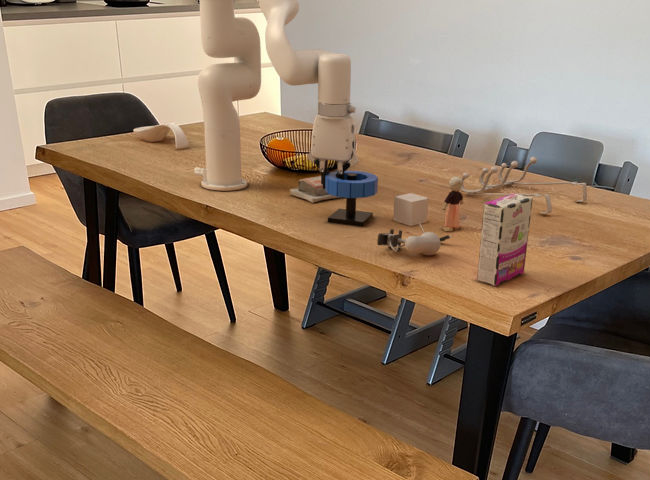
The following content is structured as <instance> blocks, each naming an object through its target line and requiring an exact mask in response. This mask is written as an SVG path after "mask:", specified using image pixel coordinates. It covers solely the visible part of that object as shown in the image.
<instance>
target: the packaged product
mask: <svg viewBox="0 0 650 480" xmlns="http://www.w3.org/2000/svg"><path fill="white" fill-rule="evenodd" d="M297 184H298V186H297V187H295V188H290V189H289V193H290V196H294V197H297V198H300V199H303V200H306V201H308V202H309V203H317V202H322V201H327V200H332V199H338V198H341V199H342V198H343V197H338V196H333V195H330V194H328V193H327V192H326V191H325V189H323V184H321V175H318V176H312V177H306V178H305V177H304V178H301V179H299V180H298V182H297Z"/></svg>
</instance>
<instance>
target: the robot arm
mask: <svg viewBox="0 0 650 480" xmlns="http://www.w3.org/2000/svg"><path fill="white" fill-rule="evenodd" d="M255 1H256V3H257V5H258V6H259V8H260V10H261V12H262V14H263V17H264V18H265V21H266V28H265V31H264V32H265V33H264V38H265V39H264V41H265V42H264V43H265V49H266V54H267V56H268V59H269V61H270V62H271V64H272V66H273V69H274V70H275V72H276V73H277V75H278V76H279V78H280V79H281V80H282V82H284V83H285V84H287V85H289V86H304V85H315V84H317V114H316V115H315V116H314V120H313V126H312V134H311V145H310V146H311V147H310V149H309V150H310V151H309V152H308V154H307V157H306V158H307V160H308V161H310V162H311V163H313V164H314V165H315V166H316V167H317V168H318V170H319V172H320V176H321V184H323V189H325V176H326V175H327V174H329V173H331V172H330V169H329V161H337V174H336V177H337V178H338V179H342V180H344V172H345V171H348V169H350V168H351V167H353V166H356V165H358V164H359V163H360V160H359V157H358V156H357V150H356V149H357V144H356V142H357V140H356V129H355V120H354V119H355V118H354V116H352V115H351V114H352V113H353V114H354V113H355V114H356V111H357V110H356V109H357V108H356V106H353V105H352V103H351V80H352V79H351V78H352V77H351V76H352V60H351V58H350V56H349V55H348V54H345V53H339V52H330V51H328V50H325V49H320V48H315V49H313V48H312V49H298V50H297V49H296V50H295V49H294V47H293V46H292V44H291V43H290V40H289V39H288V36H287V33H286V28H285V27H286V26H287V25H288V24H289V23H290V22H292V21H293V20H294V19H295V18H296V17H297V15H298V13H299V11H300V4H299V3H300V2H299V1H298V0H255ZM199 18H200V36H201V37H200V38H201V45H202V49H203V52H204V53H205V54H206V55H207V56H208V57H210V58H213V59H228V58H229V59H230V58H233V62H222V63H213V64H209V65H207V66H205V67H203V68H202V69H201V71H199V74H198V77H197V87H198V91H199V92H198V93H199V96H200V100H201V107H202V114H203V116H202V117H203V130H204V151H205V152H204V153H205V168H203V167H199V166H195V167H194V169H193V173H194V176H195V177H196V176H197V177H202V180H201V182H200V185H201V187H203V188H204V189H207V190H210V191H211V190H212V191H219V192H221V191H222V192H223V191H224V192H226V191H227V192H228V191H229V192H230V191H237V190H242V189H245V188H247V187H248V180H247V179H245V178H243V177H242V148H241V147H242V146H241V145H242V144H241V121H240V117H239V116H240V115H239V113H238V111H237V109H236V107H235V106H234V103H233V102H238V101H245V100H252V99H253V98H255V97H257V95H258V94H259V92H260V90H261V87H262V53H261V52H262V51H261V50H262V49H261V37H260V32H259V30H258V28H257V26H256V24H255V23H254V22H253V21H252V20H251V19H250V18H247V17H241V16H240V17H235V4H234V0H199Z"/></svg>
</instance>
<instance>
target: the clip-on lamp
mask: <svg viewBox="0 0 650 480" xmlns="http://www.w3.org/2000/svg"><path fill="white" fill-rule="evenodd" d="M419 227H420V229H421V230H422V232H423V233H422V234H420V235H410V236H408V237H407V238H402V237H403V230H401V229H400V230H399V231H398V234H394V233H395V232H394V231H395V230H394V228H391V229H390V230H389V232H383V233H382V232H381V233H378V235H377V243H376V244H377V246H385V247H388V249H391V250H392V251H393V252H395V253H397V252H398V251H400V250H401V248H403V247H405V249H406V251H408V252H409V253H419V252H420V253H421V255H425V256H433V255H436V254H437V253H438V252H439V250H440V249H441V242H445V241H446V240H449V239H451V238H453V235H449V234H447V235H445V236H442V237H439V235H438V234H436V233H435V232H432V231H426V232H425V230H424V227H423V226H422V223H421V224H419Z"/></svg>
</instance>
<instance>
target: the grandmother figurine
mask: <svg viewBox="0 0 650 480" xmlns="http://www.w3.org/2000/svg"><path fill="white" fill-rule="evenodd" d="M462 183H463V184H464V182H463V181H462V177H459V176H456V175H455V176H453V177H452V178H449V181H448V185H449V188H450V191H449V192H448V194H447V195H446V198H445V199H444V201H443V204H442V207H441V210H442V211H446V213H445V217H444V224H443V227H442V230H443V231H444V232H453V231H455V230H459V229H460V226H461V221H460V220H461V217H460V216H461V215H460V213H461V212H460V205H461V206H463V205H464V203H465V202H464V197H463V194H462V192H460V190H461V184H462Z"/></svg>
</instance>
